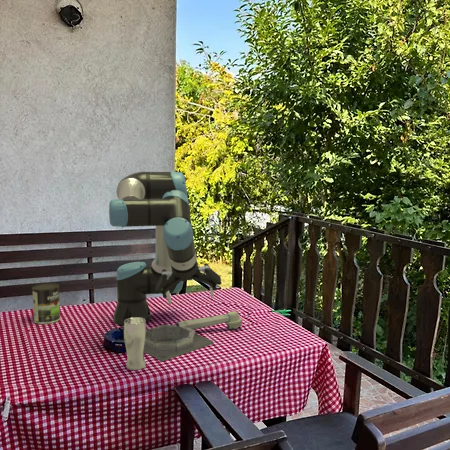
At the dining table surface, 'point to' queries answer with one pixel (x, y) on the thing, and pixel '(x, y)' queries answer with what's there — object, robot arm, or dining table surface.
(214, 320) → the beige knobbed rod
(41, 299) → the coffee can
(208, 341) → the collar
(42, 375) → the dining table surface
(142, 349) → the chrome metal cup
